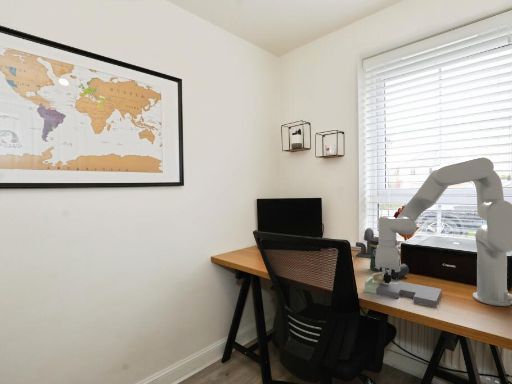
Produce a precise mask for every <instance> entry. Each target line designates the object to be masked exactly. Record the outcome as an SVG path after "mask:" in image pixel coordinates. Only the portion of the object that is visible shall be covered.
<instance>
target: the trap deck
mask: <svg viewBox="0 0 512 384" xmlns="http://www.w3.org/2000/svg"><path fill="white" fill-rule="evenodd" d="M364 292H365V293H370V294H373V295H378V296H379V295H380V296H383V297H388V298H391V299H397V300H399V298H400V297H401V296H404V297H408V298H412V299H413V303H415V304H420V305H424V306H427V307H433V308H437V306H438V304H439V302H440V300H441V297H442V294H443V293H442V292H443V289H442V288H437V287H433V286H427V285H423V284H422V285H421V284H416V283H410V282H407V281H406V282H405V281H400V280H399V281H398V282H397V283H392V282H390V283H389V284H387V283H385V282H384V283H379V284H375V283H374V280H373V277H372V275H371V276H370V277H369V278H368V279H366V280H365V281H364Z"/></svg>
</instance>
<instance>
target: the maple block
mask: <svg viewBox="0 0 512 384" xmlns="http://www.w3.org/2000/svg"><path fill="white" fill-rule="evenodd" d="M371 276H372V277H373V280H374V283H375V284H379V283H384V282H385V281H384V274H383V273H382V272H374V273H372V275H371Z"/></svg>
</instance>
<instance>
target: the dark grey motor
mask: <svg viewBox="0 0 512 384" xmlns="http://www.w3.org/2000/svg"><path fill="white" fill-rule="evenodd" d="M386 269H387V270H389V268H386ZM387 273H388V272H387ZM409 273H410V268H409V266H408V265H407V264H406V263H400V272H394V273H393V274H391V280H393V281H394V280H397V279H400V278H403V277H406V276H407V275H409Z"/></svg>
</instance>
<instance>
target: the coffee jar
mask: <svg viewBox="0 0 512 384" xmlns="http://www.w3.org/2000/svg"><path fill="white" fill-rule="evenodd" d="M377 245H379V237H376V236H374V237H373V238H371V240H370V247H371V259H370V261H369V269H370V271H374V272H376V273H379V272H382V271H381V270H380V269H377V268H375V265H376V264H375V257H376V249H377ZM388 271H389V270H387V272H388Z"/></svg>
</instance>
